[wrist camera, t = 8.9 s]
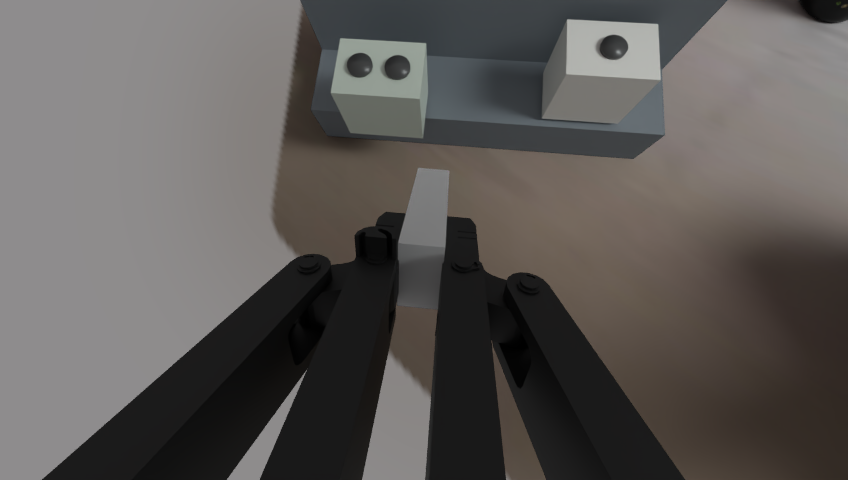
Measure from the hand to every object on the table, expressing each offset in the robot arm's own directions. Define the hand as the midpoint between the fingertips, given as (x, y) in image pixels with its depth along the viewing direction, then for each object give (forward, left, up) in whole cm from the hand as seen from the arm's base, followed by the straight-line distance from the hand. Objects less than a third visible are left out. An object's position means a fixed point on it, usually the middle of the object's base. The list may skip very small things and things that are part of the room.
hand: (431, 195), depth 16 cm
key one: (-20, -4, -13) cm, 24 cm away
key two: (-4, -13, -13) cm, 19 cm away
